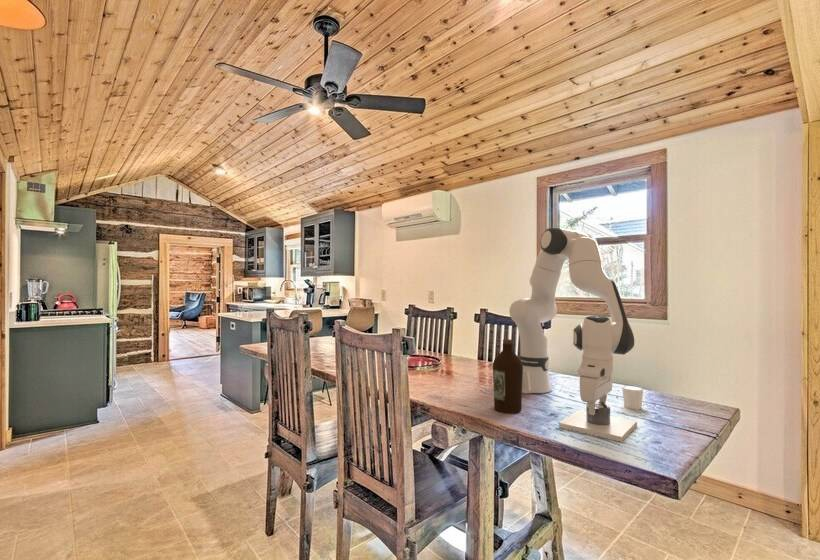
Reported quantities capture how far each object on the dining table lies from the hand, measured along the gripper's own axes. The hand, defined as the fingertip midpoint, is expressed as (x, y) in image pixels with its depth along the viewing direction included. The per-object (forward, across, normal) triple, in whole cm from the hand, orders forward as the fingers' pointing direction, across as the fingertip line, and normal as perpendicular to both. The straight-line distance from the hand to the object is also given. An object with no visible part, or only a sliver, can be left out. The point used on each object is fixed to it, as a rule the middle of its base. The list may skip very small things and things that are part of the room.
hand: (597, 410), depth 130 cm
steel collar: (+4, 0, 0) cm, 4 cm away
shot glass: (+5, -30, +3) cm, 31 cm away
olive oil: (+5, +3, -30) cm, 30 cm away
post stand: (+5, 0, 0) cm, 5 cm away
